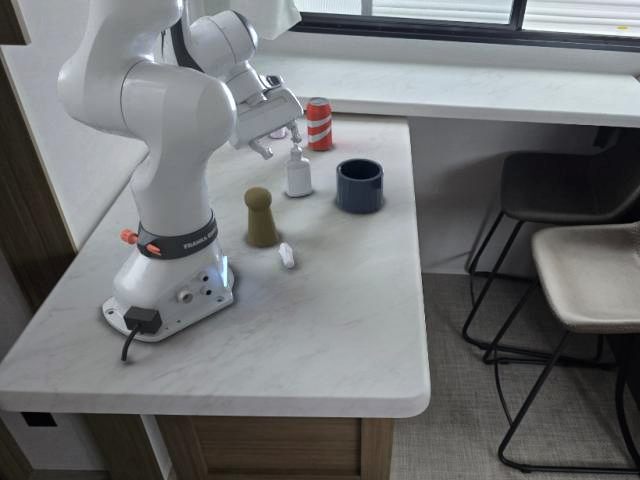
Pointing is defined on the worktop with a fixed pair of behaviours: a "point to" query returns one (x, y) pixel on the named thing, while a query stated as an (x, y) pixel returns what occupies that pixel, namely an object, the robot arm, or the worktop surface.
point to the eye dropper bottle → (297, 174)
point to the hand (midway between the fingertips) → (284, 150)
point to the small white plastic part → (286, 255)
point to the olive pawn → (260, 217)
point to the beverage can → (319, 123)
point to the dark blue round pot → (359, 185)
